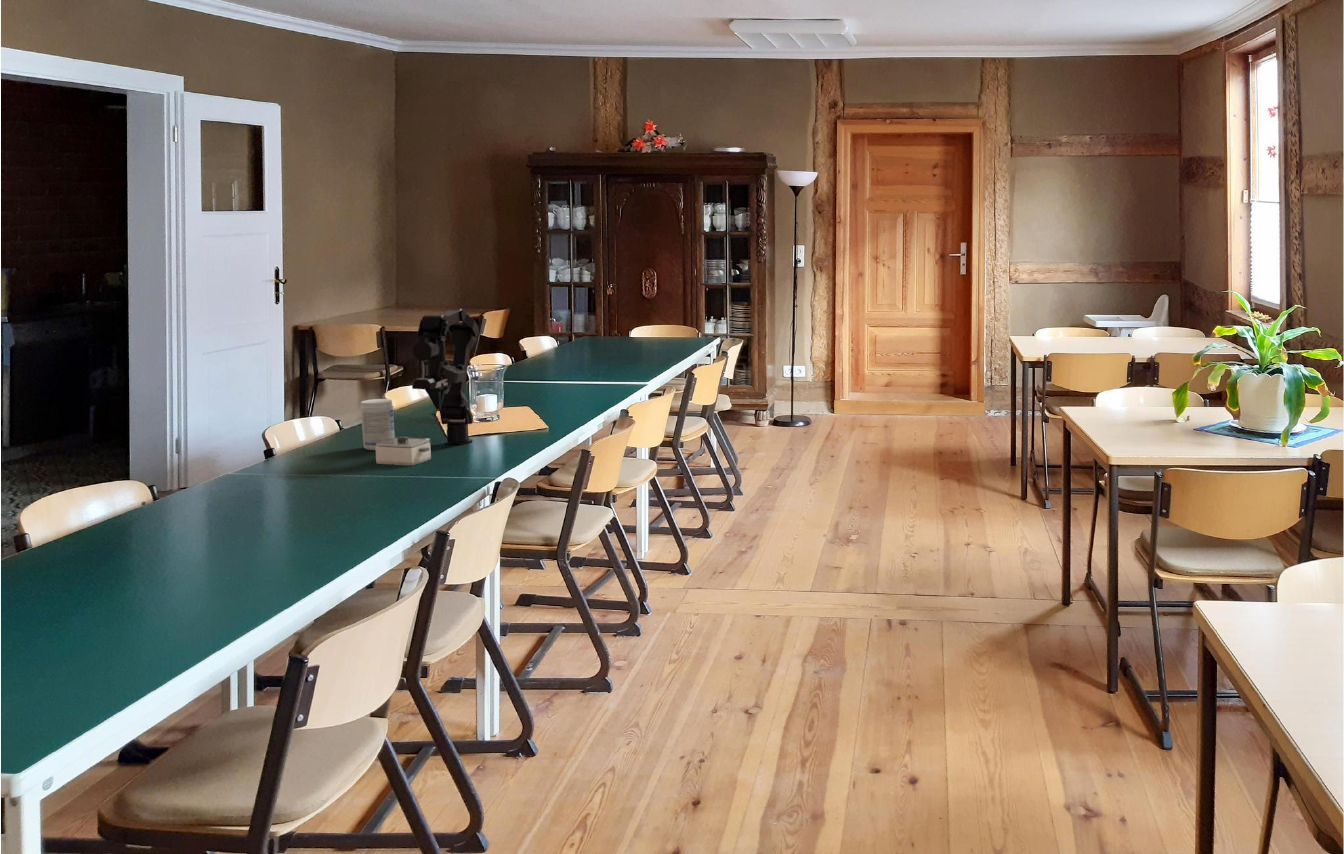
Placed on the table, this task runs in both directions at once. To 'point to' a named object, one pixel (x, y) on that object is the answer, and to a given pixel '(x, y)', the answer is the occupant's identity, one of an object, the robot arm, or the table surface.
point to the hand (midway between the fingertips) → (438, 409)
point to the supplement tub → (377, 422)
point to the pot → (403, 454)
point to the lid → (403, 442)
